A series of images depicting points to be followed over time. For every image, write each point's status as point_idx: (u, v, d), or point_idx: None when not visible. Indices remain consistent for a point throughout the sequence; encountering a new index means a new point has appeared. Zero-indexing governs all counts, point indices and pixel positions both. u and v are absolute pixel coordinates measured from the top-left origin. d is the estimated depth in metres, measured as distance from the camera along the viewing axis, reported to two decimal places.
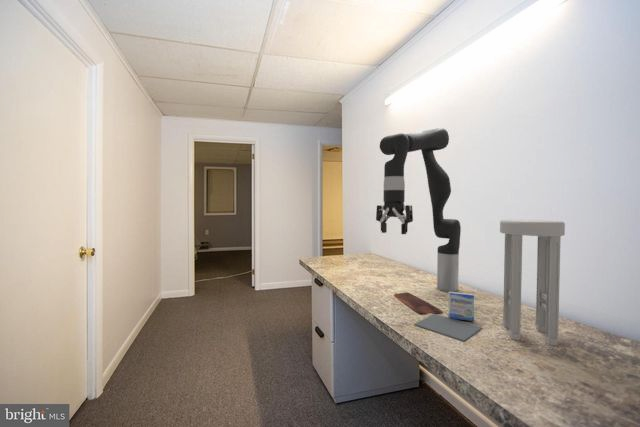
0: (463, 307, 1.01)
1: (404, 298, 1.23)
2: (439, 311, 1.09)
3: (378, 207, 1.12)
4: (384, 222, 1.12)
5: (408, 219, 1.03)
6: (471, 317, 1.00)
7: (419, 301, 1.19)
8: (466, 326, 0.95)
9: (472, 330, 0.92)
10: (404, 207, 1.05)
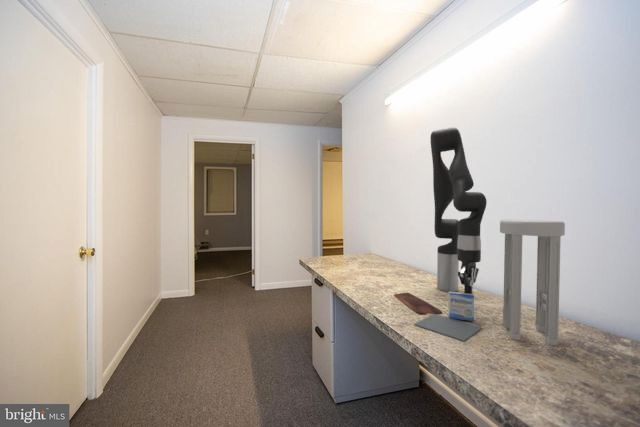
0: (463, 307, 1.01)
1: (404, 298, 1.23)
2: (438, 311, 1.08)
3: (465, 274, 1.02)
4: None
5: (475, 280, 1.07)
6: (471, 317, 1.00)
7: (419, 301, 1.19)
8: (466, 326, 0.95)
9: (472, 330, 0.92)
10: None
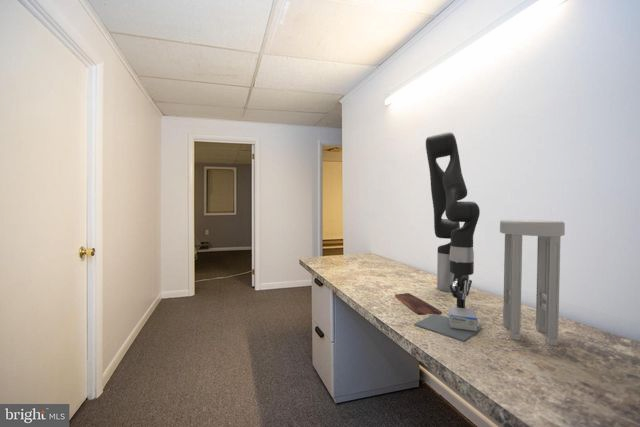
0: None
1: (404, 298, 1.23)
2: (438, 312, 1.08)
3: (458, 287, 0.97)
4: None
5: (468, 293, 1.03)
6: None
7: (419, 302, 1.19)
8: None
9: None
10: None
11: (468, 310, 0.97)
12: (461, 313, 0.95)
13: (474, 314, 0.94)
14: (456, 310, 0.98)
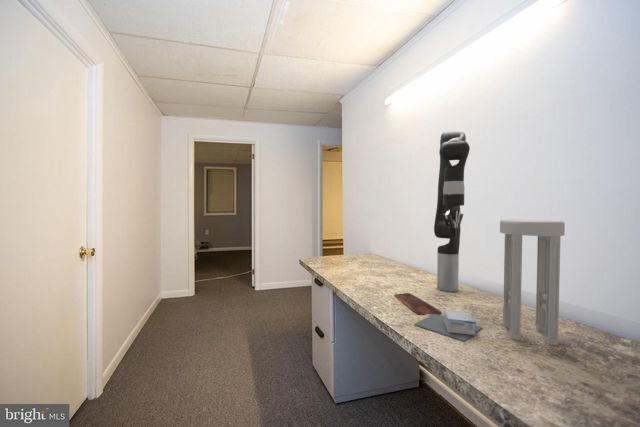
0: None
1: (404, 298, 1.23)
2: (438, 312, 1.08)
3: (450, 215, 1.11)
4: None
5: (459, 224, 1.17)
6: None
7: (419, 302, 1.18)
8: None
9: None
10: None
11: (465, 314, 0.94)
12: (459, 316, 0.92)
13: (471, 317, 0.91)
14: (453, 313, 0.95)
